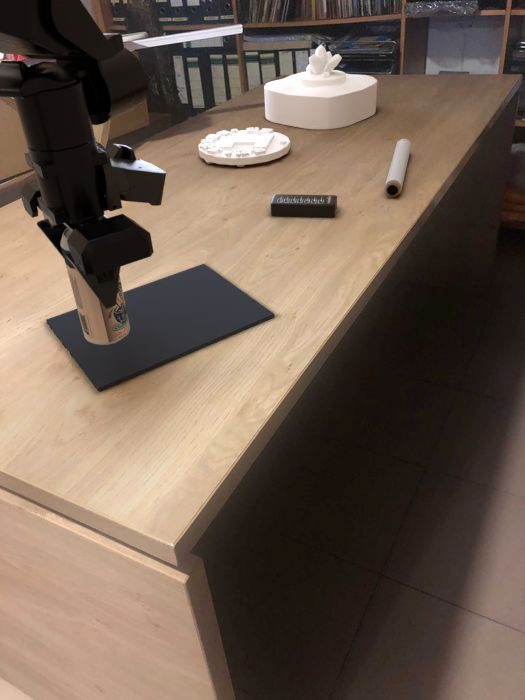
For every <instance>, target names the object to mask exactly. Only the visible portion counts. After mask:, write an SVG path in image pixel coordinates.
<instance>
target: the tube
mask: <svg viewBox="0 0 525 700" xmlns="http://www.w3.org/2000/svg"><path fill="white" fill-rule="evenodd" d="M411 149H412V142H411V141H410V140H409V139H407V138H401V139H399V140H398V141H397V143H396V145H395V148H394V153H393V155H392V159H391V162H390V167H389V169H388V173H387V177H386V181H385V184H384V192H385V193H386V195H387V196H389V197H391V198H393V197H397V196H398V195H399V194H401V193H402V189H403V185H404V182H405V176H406V171H407V167H408V163H409V158H410V153H411Z"/></svg>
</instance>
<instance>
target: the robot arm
mask: <svg viewBox="0 0 525 700" xmlns="http://www.w3.org/2000/svg"><path fill="white" fill-rule="evenodd" d="M0 54H3V55H20V56H21V57H23V58H25V59H27V60H39V62H36V63H33V64H29V65H27V64H26V63H25V62H24V61H22V60H1V61H0V98H12V99H13V102H14V106H15V109H16V113H17V116H18V119H19V123H20V126H21V129H22V133H23V136H24V140H25V143H26V147H27V150H28V152H24V153H23V154H24V158H25V161H26V164H27V166H28V167H29V168H30V169H31V170H33V171H34V174H35V177H36V179H33V180H28V181H25V183H24V185H23V187H22V188H21V190H20V191H19V195H20V198H21V202H22V205H23V208H24V211H25V212H26V213H27V214H28V215H29V216H30V217H31V218H32V219H33V218H37V217H39V211H41V212H42V216H43V219H41V220H38V221H37V222H36V225H37V227H38V229H39V230H40V231H41V232H42V233H43V234H44V235H45V237H46V238H47V240H48V241H49V242H50V244H51V245H52V246H53V247H54V248H55V250H56V251H57V252H58V253H59V254H60V256H61V257H62V259H64V257H63V253H62V249H61V245H60V242H61V239H62V233H63V232H64V231H65V229H66V228H68V229H69V230H70V231H71V232H72V233H71V235H70V236H69V238H68V240H67V243H68V247H69V250H70V253H69V254H66V257H67V258H68V260H69V261H70V262H71V264H72V265H73V266H74V268H75V269H76V270H77V271H78V273H79V274H80V275H81V277H82V278H83V279H84V281H85V282H86V283H87V285H88V286H89V287H90V289H91V290H92V291H93V293H94V294H95V295H96V297H97V298H98V299H99V300H100V302H101V303H102V304H103V306H104V307H105V308H110V307H113V306H115V305H116V301H117V292H118V283H119V275H120V274H121V268H122V267H124V266H126V265H130V264H132V263H135V262H139V261H142V260H144V259H148V258H151V257H152V255H153V254H154V247H153V241H152V236H151V235H152V234H151V232H149V230H147V229H146V228H145V227H143V226H142V225H141V224H140V223H138V222H137V221H135V220H134V219H133V218H131V217H129V216H127V215H126V214H124V213H120V214H116V215H113V216H110V217H108V216H106V215H105V212H107V211H109V212H113V211H114V212H115V211H118V210H121V209H123V204H122V201H123V202H130V203H131V202H132V203H142V204H149V205H150V206H152V207H153V206H155V207H159V206H161V205H162V202H163V201H162V200H163V195H164V190H165V189H164V188H165V183H166V178H167V177H166V176H167V172H166V171H165V170H164V169H162V168H160V167H158V166H156V165H155V164H153V163H151V162H148V161H145V160H143V159H139V158H138V159H137V157H136V153H135V151H134V149H133V148H132V147H130V146H128V145H126V144H120V143H119V144H118V143H112V144H111V146H110V147H109V150H108V151H107V152H106V151H105V150H103V148H101V147H99V146H98V145H97V139H96V135H95V131H94V126H100V125H103V124H105V123H108V122H109V121H112V120H114V119H116V118H118V117H120V116H123V115H124V114H127V113H129V112H131V111H133V110H135V109H137V108H138V107H140V106H142V104H143V103H144V102H145V101H146V99H147V96H148V93H149V77H148V73H147V72H146V71H145V69H144V66H143V64H142V63H141V61H140V60H139V58H138V57H137V56H136V55H135V53H133V52H132V51H131V50H129V49H128V48H126V47H125V43H124V39H123V35H122V34H121V33H120V32H118V33H115V32H111V33H110V32H103V31H102V30H101V28H100V27H99V25H98V24H97V22H96V21H95V20H94V18H93V16H92V15H91V13H90V12H89V10H88V9H87V8H86V6H85V5H84V3H83V2H82V0H0ZM42 60H43V61H42ZM52 61H55V62H52Z"/></svg>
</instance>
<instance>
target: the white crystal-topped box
mask: <svg viewBox="0 0 525 700" xmlns="http://www.w3.org/2000/svg"><path fill="white" fill-rule="evenodd" d="M314 51H315V52H314V53H313V54H312V55H310V56H309V57H308V63H309V64H308V65H307V67H306V68H305V69H306V71H301V72H297V73H294V74H291V75H288V76H286V77H284V78H281V79H275V80H272V81H269V82H267V83H265V85H264V87H263V91H264V92H263V93H264V94H263V95H264V112H265V113H264V114H265V115H264V116H265V119H266V120H267V121H269V122H271V123H275V124H278V125H283V126H284V125H285V126H290V127H294V128H299V129H305V130H318V131H319V130H335V129H341V128H345V127H348V126H352V125H354V124H357V123H359V122H362V121H363V120H366V119H368V118H370V117H373V116H374V115H375V114H376V111H377V94H378V79H377V78H375V77H374V76H372V75H368V74H358V73H357V74H354V73H346V72H344V71H343V70H338V69H335V68H336V67H337V66H338V65H339V63H340V62H341V60H342V59H343V57H342V56H341V55H340V54H339V53H337V54H334V55H332V53H331V51H327V50H326V48H325V47H324V46H323V44H320V45H318V46H317V47H316V49H315V50H314Z"/></svg>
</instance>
